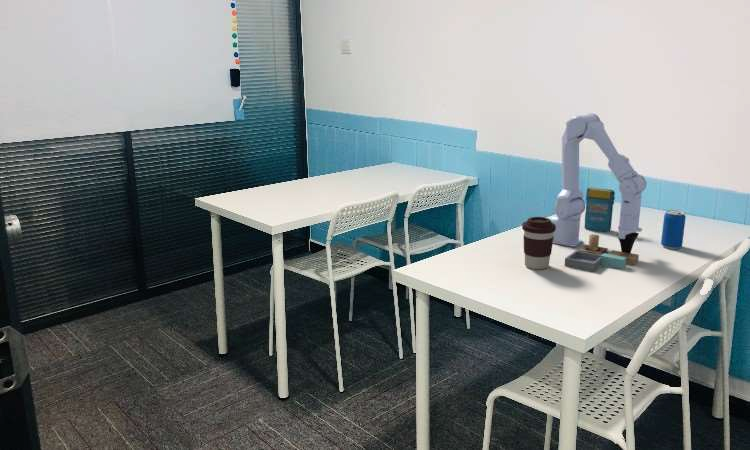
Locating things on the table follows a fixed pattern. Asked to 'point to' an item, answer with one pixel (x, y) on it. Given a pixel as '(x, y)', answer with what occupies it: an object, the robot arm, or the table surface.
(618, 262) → the teal rectangular block
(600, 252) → the socket
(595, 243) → the dowel
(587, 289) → the table surface
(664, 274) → the table surface
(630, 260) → the tan wooden slab
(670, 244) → the beverage can
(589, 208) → the teal coffee bag
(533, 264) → the coffee cup
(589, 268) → the tray
